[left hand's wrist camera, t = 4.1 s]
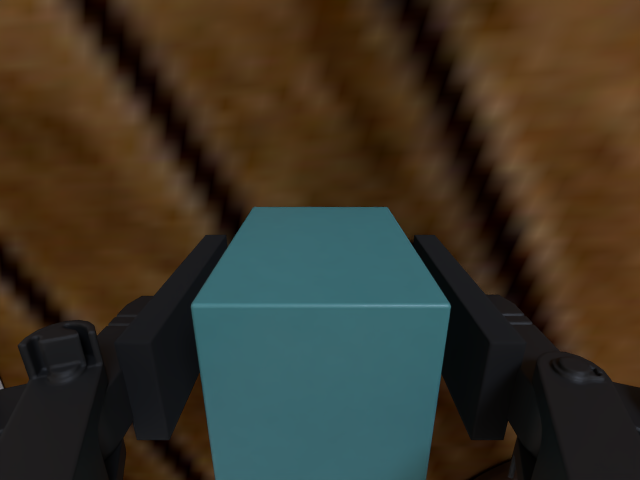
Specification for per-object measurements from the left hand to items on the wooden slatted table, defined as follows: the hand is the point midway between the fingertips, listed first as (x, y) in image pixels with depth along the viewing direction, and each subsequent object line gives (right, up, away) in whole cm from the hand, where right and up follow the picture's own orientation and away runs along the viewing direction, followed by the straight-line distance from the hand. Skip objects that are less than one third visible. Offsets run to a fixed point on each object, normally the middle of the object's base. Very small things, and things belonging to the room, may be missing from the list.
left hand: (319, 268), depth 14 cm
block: (0, 0, 0) cm, 0 cm away
